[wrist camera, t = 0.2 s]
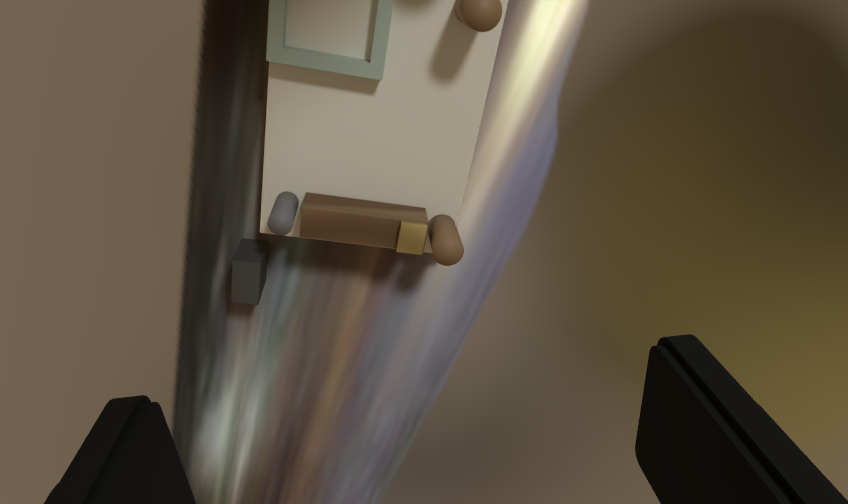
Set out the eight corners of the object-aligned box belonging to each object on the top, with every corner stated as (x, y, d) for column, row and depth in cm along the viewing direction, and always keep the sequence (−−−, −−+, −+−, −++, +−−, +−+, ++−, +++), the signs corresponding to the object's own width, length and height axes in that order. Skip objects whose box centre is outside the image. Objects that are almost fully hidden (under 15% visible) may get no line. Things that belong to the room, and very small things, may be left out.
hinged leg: (306, 192, 43) (301, 211, 40) (425, 207, 45) (430, 227, 42) (303, 219, 45) (298, 240, 41) (420, 234, 46) (424, 255, 43)
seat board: (254, -79, 37) (232, -87, 31) (505, -26, 40) (531, -24, 34) (240, 278, 50) (222, 322, 43) (434, 298, 52) (443, 343, 46)
